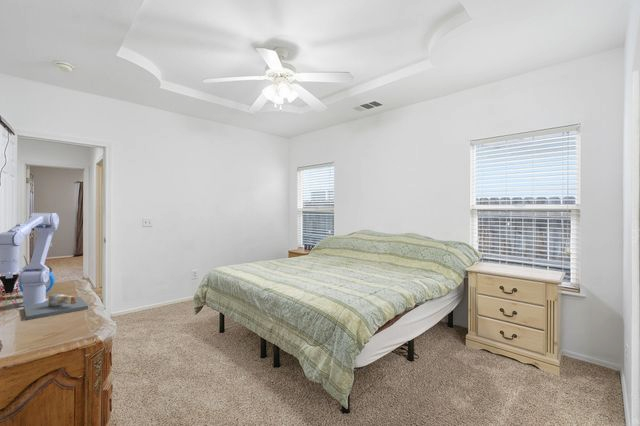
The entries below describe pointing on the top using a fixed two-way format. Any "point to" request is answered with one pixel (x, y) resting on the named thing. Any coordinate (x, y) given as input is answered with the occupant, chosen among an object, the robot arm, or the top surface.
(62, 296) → the grey beige handled piece
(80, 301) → the latch plate
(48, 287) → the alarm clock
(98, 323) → the top surface
